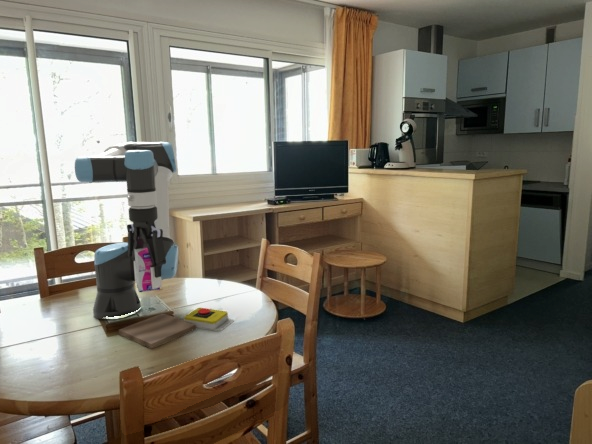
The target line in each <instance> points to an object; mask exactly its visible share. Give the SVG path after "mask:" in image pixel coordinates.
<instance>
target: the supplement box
mask: <svg viewBox="0 0 592 444" xmlns="http://www.w3.org/2000/svg"><path fill="white" fill-rule="evenodd" d="M134 251H135V266H136V282H137V283H136V288H137V290H138V292H139V293H144V292H150V291H158V290H159V291H160V289H161V287H159V288H156V289H152V282H151V268H150V266H151V265H152V262H151V259H150V255H149V252H148V249H147V248H141V249H134ZM155 262H156V261H155Z"/></svg>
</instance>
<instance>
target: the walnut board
mask: <svg viewBox="0 0 592 444" xmlns="http://www.w3.org/2000/svg"><path fill="white" fill-rule="evenodd" d="M195 330H197V328H196V325H195V324H192V323H189V322H186V321H184V319H181V318H179V317H176V316H172V315H169V314H166V313H164V314H162V313H161V315H160V314H157V315H155V316H154V315H153V316H152V317H149V318H147V319H146V318H145V319H143V320H141V321H138V322H135V323H132V324H130V325H128V326H125V327H122V328H120V329H118V335H120V336H122V337H124V338H126V339H128V340H130V341H132V342H135V343H138V344H140V345H142V346H144V347H146V348H148V349H150V350H152V349H154V348H157V347H160V346H161V345H164V344H166V343H168V342H171V341H173V340H175V339H177V338H179V337H181V336H184V335H186V334H189V333H191V332H193V331H195Z"/></svg>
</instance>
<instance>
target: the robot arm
mask: <svg viewBox="0 0 592 444" xmlns="http://www.w3.org/2000/svg"><path fill="white" fill-rule="evenodd" d="M176 172H177V165H176V160H175V152H174V147H173V144H172V142H171V143H170V142H168V141H160V140H159V141H127V142H126V141H125V142H122V143H117V144H114V145H111V146H109V147H107V148H106V149H105V150H103V152H102V153H98V154H97V155H90V156H89V155H83V156H77V157H76V159H75V160H74V174H75V177H76V180H77V181H78V182H80V183H89V184H92V183H110V182H111V183H117V182H119V183H120V182H121V183H124V182H125V183H126V192H127V197H126V199H127V205H128V206H129V208H128V220H129V221H130V222H133V223H130V224H126V230H127V242H124V241H123V242H116V243H112V244H108V245H105V246H102V247H99V248H98V249H96V250H95V252H94V254H93V256H94V263H93V265H94V270H95V272H94V273H95V281H96V282H95V283H96V296H95V298H94V299H95V300H94V303H93V307H92V314H93V317H94V318H95V319H98V320H102V318H103V317H106V316H108V317H114V316H121V315H125V314H128V313H131V312H134V311H136V310H138V309H139V308H140V307H141V308H142V304H141V300H140V298H139V295H138V293H137V291H136V288H135V284H137V282H136V266H135V251H134V249H141V248H147V249H148V252H149V255H150V259H151V262H152V265H151V266H150V268H151V282H152V289H156V288H159V287H160V288H162V286H163V284H162V281H163V280H168V279H169V280H170V279H173V278H174V277H175V276H176V274H177V270H178V263H179V246H178V244H175V241H174V239H173V238H172V237H171V236H170V201H169V200H170V199H169V198H170V195H169V193H170V192H169V190H170V189H169V188H170V187H169V181H170V179H172V178H173V175H174V173H176ZM155 261H156V262H155Z"/></svg>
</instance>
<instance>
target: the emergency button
mask: <svg viewBox="0 0 592 444" xmlns="http://www.w3.org/2000/svg"><path fill="white" fill-rule="evenodd" d="M228 313H229V312H228V311H226V310H220V309H219V310H218V309H212V308H207V307H197V308H195V309H194V310H192V311H191V312H189V313H187V314H185V316H184V319H183V320H184V321H186V322H189V323H192V324H195V325H196V329H197V328H198V329H201V330H202V329H203V330H208V331H209V330H210V331H215V332H221V331H223V330H225V328H227V327H229V326H230V325H231V324H232V323H233V322H234V321H235V320H234V319H232V318H229V315H228Z"/></svg>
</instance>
